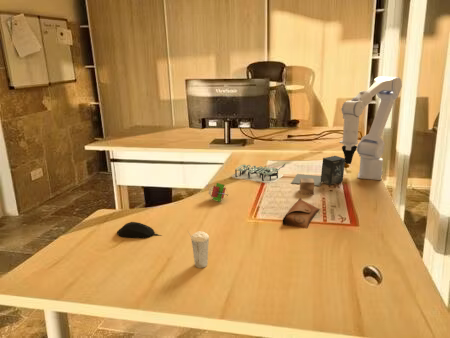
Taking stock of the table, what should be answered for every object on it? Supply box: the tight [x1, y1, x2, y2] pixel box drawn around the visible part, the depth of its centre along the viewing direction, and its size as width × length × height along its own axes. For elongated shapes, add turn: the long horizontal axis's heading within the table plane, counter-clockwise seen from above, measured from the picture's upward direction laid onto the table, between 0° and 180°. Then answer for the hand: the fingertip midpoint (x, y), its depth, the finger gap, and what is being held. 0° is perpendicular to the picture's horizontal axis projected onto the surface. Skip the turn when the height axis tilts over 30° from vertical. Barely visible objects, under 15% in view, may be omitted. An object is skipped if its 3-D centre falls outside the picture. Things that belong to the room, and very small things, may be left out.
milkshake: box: [187, 230, 210, 269], centre depth 98 cm, size 4×5×10 cm
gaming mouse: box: [116, 221, 164, 239], centre depth 117 cm, size 6×15×4 cm, turn 79°
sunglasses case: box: [282, 198, 320, 230], centre depth 128 cm, size 18×7×7 cm, turn 154°
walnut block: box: [299, 178, 315, 196], centre depth 150 cm, size 5×5×5 cm
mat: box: [290, 173, 323, 187], centre depth 164 cm, size 12×13×1 cm
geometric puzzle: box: [208, 182, 229, 203], centre depth 143 cm, size 7×7×8 cm
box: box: [320, 155, 346, 186], centre depth 159 cm, size 8×6×11 cm
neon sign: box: [231, 163, 286, 184], centre depth 177 cm, size 21×4×29 cm
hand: (348, 163), depth 156 cm, fingers closed
